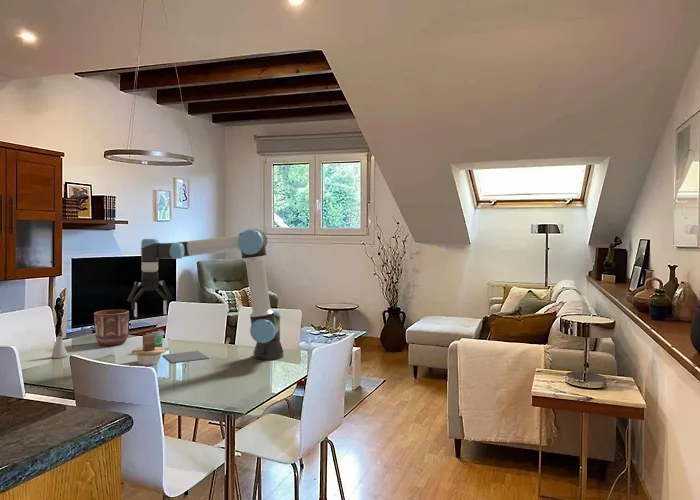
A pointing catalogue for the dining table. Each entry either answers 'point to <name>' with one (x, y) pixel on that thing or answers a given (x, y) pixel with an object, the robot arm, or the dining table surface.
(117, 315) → the pottery
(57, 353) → the flask
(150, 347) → the oak lid
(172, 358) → the rubber mat
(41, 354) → the dining table surface
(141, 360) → the ramekin
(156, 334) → the food container
